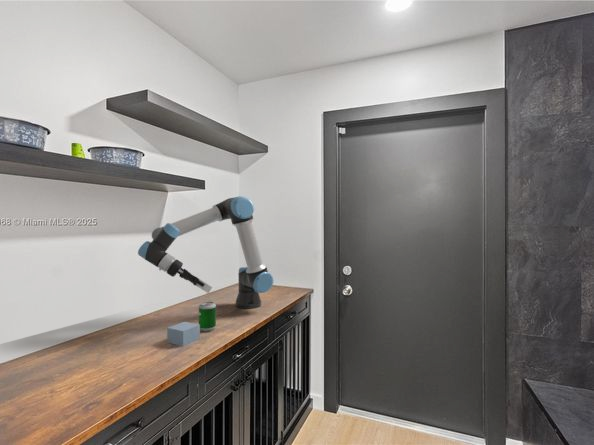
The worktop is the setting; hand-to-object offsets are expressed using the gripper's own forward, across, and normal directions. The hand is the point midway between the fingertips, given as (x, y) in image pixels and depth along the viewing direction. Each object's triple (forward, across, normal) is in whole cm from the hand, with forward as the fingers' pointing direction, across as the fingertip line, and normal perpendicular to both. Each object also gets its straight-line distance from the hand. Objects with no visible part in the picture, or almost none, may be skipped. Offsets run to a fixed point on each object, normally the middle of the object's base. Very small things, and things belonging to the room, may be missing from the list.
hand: (210, 290), depth 147 cm
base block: (+3, +9, -23) cm, 25 cm away
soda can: (+9, -2, -15) cm, 18 cm away
